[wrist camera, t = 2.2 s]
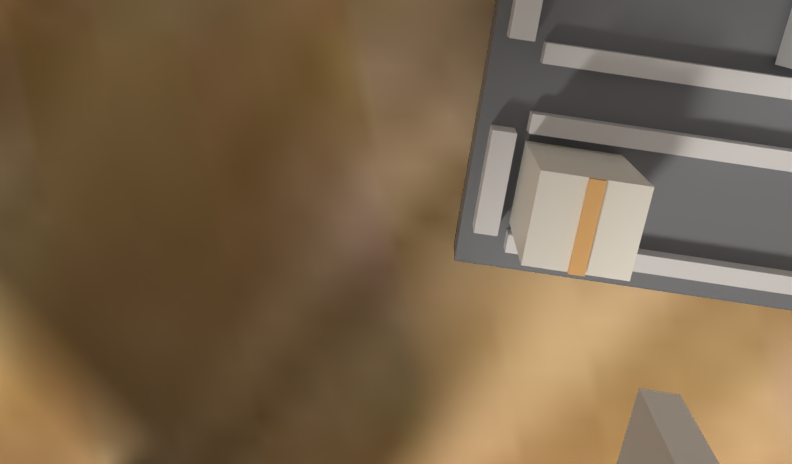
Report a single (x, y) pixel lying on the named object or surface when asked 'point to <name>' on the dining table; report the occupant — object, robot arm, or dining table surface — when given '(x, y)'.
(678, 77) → the grey compartment tray
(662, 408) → the robot arm
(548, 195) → the white taped box
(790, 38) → the fader
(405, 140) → the dining table surface
